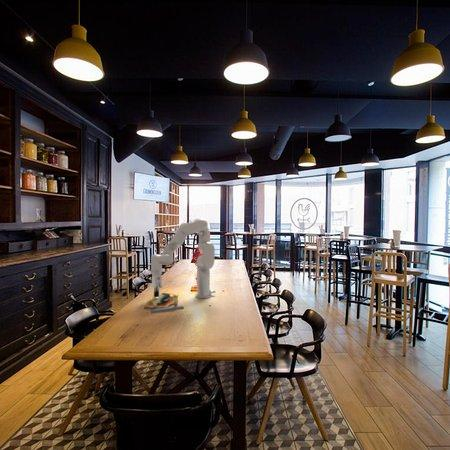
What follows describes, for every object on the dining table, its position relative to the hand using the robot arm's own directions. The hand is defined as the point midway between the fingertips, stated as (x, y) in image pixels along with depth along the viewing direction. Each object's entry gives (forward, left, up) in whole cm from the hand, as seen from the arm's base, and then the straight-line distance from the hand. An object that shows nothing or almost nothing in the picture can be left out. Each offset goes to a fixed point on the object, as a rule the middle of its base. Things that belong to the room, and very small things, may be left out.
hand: (156, 296), depth 224 cm
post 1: (+7, +22, -3) cm, 23 cm away
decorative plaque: (-2, +7, -4) cm, 8 cm away
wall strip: (0, +24, -3) cm, 25 cm away
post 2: (-7, +22, -3) cm, 23 cm away
